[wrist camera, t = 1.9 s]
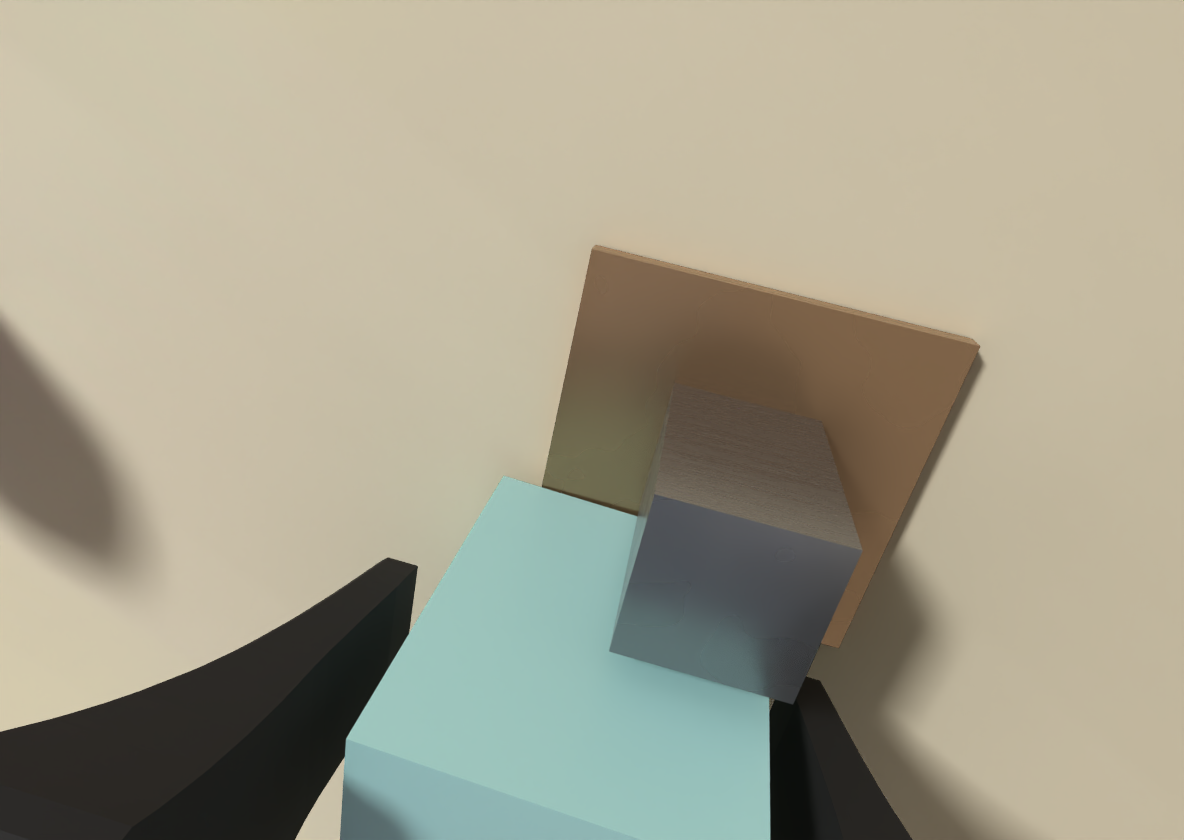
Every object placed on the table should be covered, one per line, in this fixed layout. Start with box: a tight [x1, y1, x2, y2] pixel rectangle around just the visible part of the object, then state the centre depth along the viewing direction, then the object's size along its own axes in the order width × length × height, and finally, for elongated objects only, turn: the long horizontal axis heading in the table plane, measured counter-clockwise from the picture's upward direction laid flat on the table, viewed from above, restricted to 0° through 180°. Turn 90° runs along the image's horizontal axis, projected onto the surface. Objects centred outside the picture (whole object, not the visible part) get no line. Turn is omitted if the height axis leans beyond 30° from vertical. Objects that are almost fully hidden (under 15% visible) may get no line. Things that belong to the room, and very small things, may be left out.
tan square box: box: [542, 245, 980, 704], centre depth 11 cm, size 6×6×4 cm
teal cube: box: [340, 476, 770, 840], centre depth 12 cm, size 5×5×6 cm
